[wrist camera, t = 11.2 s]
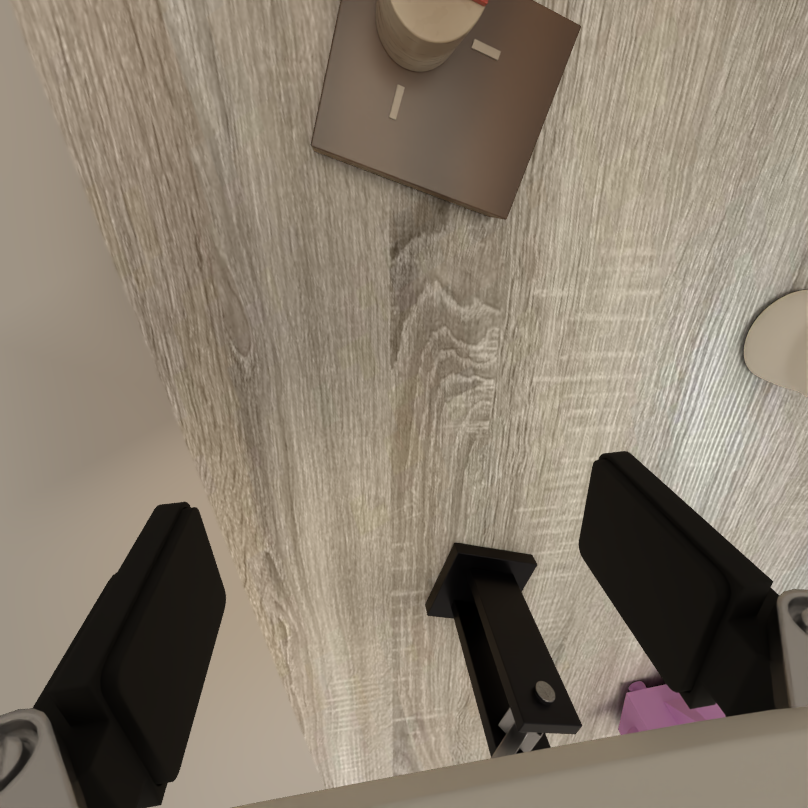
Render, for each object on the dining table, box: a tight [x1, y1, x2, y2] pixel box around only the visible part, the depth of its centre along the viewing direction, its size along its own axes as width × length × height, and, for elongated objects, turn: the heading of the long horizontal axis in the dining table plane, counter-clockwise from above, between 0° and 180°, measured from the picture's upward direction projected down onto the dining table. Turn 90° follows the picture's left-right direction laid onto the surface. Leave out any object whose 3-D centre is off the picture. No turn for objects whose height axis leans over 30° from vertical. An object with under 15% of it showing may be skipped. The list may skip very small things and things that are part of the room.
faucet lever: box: [491, 708, 543, 758], centre depth 25 cm, size 17×3×3 cm
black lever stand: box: [425, 543, 582, 757], centre depth 35 cm, size 8×8×14 cm
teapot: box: [618, 681, 725, 735], centre depth 49 cm, size 18×13×10 cm
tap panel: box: [311, 0, 581, 219], centre depth 22 cm, size 12×11×3 cm
